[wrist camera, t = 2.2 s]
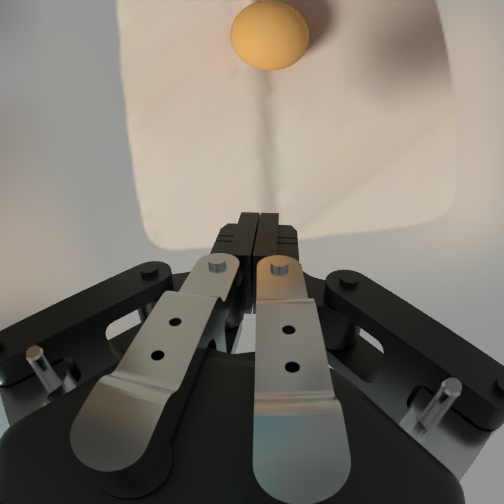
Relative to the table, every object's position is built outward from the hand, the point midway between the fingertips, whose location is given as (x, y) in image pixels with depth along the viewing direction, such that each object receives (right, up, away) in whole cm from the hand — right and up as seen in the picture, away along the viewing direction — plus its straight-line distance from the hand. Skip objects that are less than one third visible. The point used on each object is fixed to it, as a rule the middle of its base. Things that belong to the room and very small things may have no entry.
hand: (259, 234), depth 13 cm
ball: (+1, +13, +3) cm, 13 cm away
